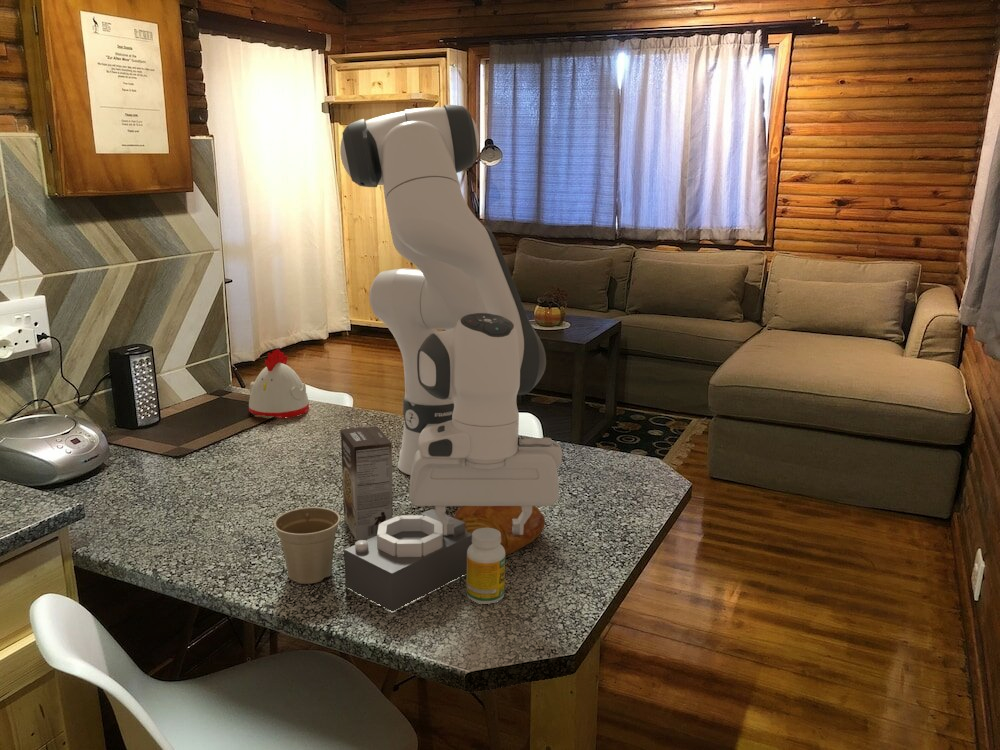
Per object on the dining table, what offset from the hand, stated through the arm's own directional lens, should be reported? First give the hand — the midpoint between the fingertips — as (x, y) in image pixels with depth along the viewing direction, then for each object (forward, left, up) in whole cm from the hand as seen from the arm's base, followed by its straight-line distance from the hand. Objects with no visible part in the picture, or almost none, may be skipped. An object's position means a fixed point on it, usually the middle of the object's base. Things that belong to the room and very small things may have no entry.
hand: (483, 533), depth 111 cm
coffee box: (-4, -29, -10) cm, 31 cm away
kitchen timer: (-31, -94, -10) cm, 99 cm away
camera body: (+3, -11, -10) cm, 15 cm away
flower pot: (+12, -23, -10) cm, 28 cm away
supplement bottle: (-1, 0, -10) cm, 10 cm away
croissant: (-15, -11, -10) cm, 21 cm away
